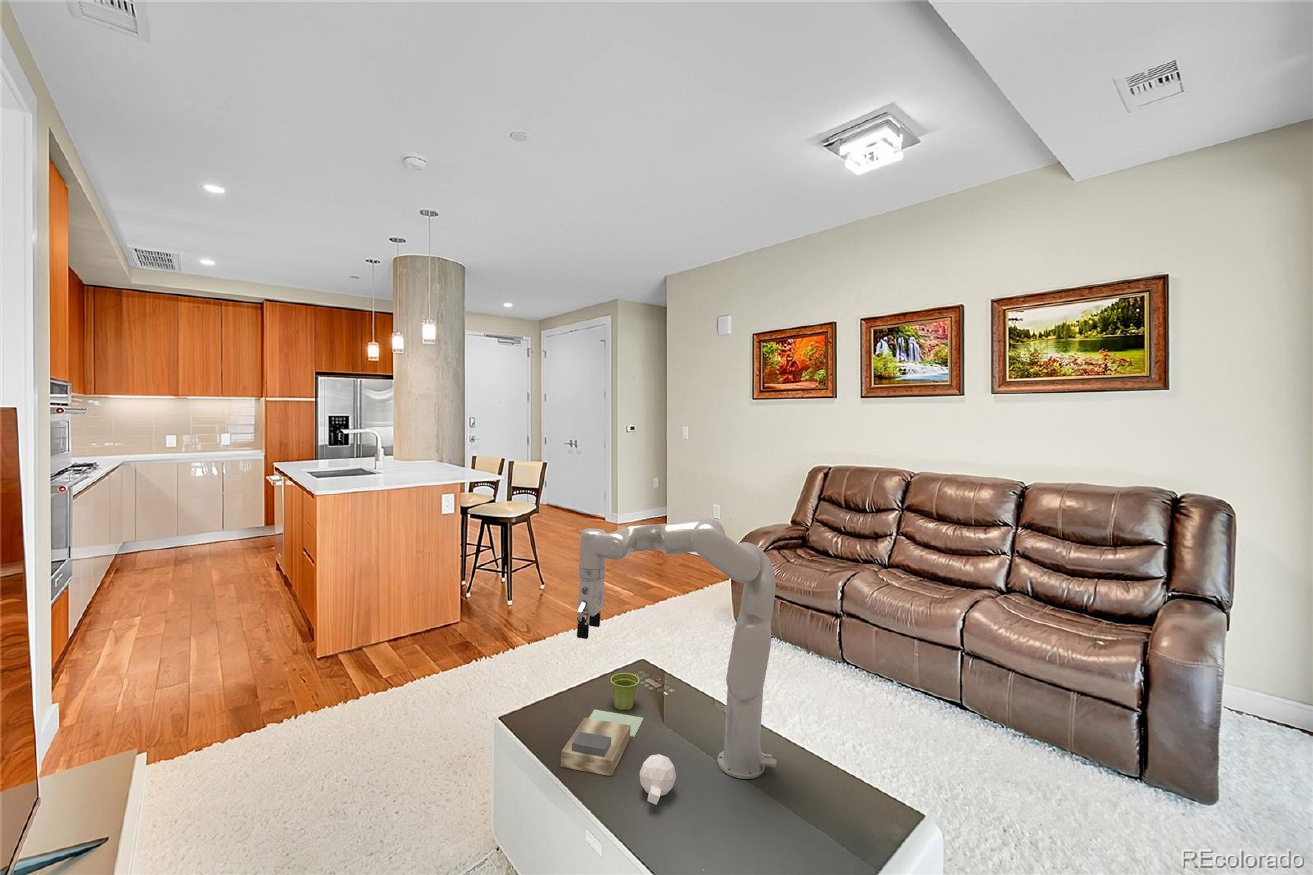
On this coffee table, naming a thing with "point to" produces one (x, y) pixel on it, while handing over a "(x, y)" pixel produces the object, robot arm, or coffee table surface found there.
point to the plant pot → (624, 690)
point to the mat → (618, 719)
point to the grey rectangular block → (591, 744)
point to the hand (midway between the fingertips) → (588, 632)
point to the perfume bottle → (657, 776)
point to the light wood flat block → (593, 762)
